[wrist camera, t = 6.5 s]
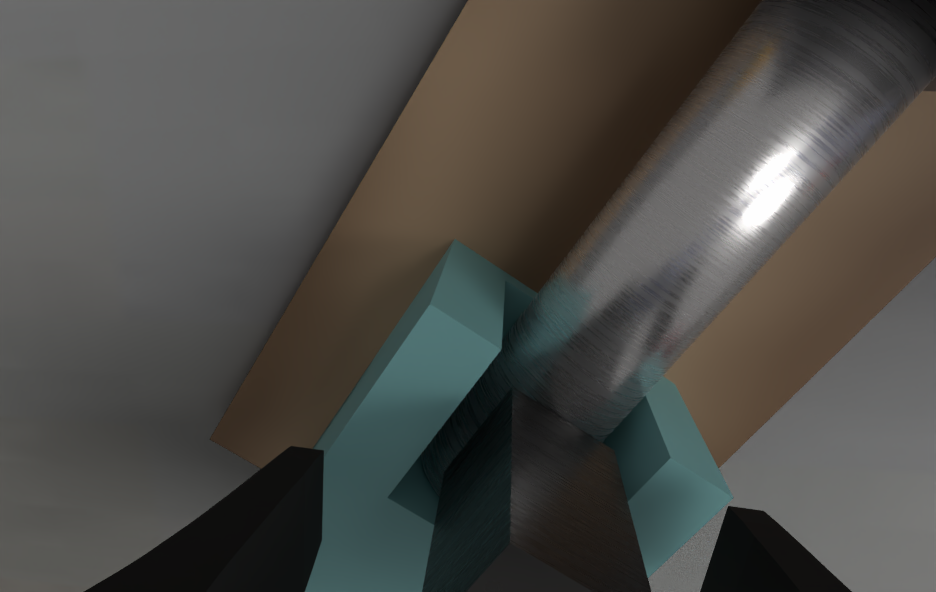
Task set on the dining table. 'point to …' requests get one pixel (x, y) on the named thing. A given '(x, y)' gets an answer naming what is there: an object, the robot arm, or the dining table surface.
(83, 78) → the dining table surface
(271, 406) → the walnut board
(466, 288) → the teal cradle
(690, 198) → the silver elongated piece
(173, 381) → the dining table surface
